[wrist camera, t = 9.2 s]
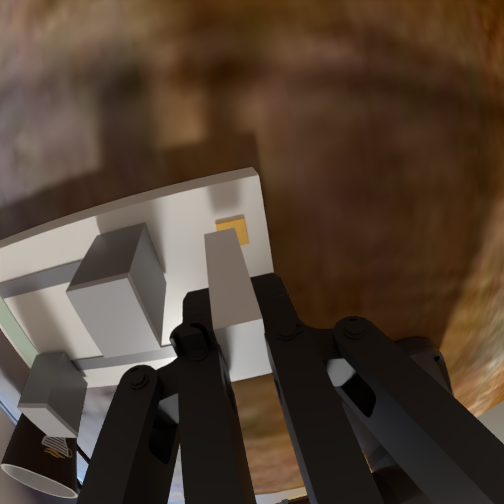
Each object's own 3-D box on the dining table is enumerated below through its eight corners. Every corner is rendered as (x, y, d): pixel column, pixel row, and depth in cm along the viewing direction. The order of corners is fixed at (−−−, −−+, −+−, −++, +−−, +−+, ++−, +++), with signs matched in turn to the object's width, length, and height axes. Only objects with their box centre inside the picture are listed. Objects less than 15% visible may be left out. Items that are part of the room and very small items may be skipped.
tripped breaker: (145, 222, 16) (127, 278, 11) (166, 282, 18) (161, 348, 13) (96, 235, 16) (65, 292, 11) (121, 292, 18) (104, 358, 13)
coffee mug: (7, 388, 24) (-15, 458, 15) (58, 385, 24) (39, 470, 15) (61, 439, 29) (53, 500, 21) (112, 439, 30) (108, 508, 21)
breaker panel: (252, 166, 18) (259, 175, 16) (279, 335, 25) (285, 355, 23) (-25, 250, 16) (-39, 265, 14) (53, 374, 23) (48, 391, 21)
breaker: (63, 351, 19) (45, 408, 14) (87, 383, 21) (77, 437, 16) (36, 354, 19) (17, 407, 14) (61, 385, 21) (48, 436, 16)
